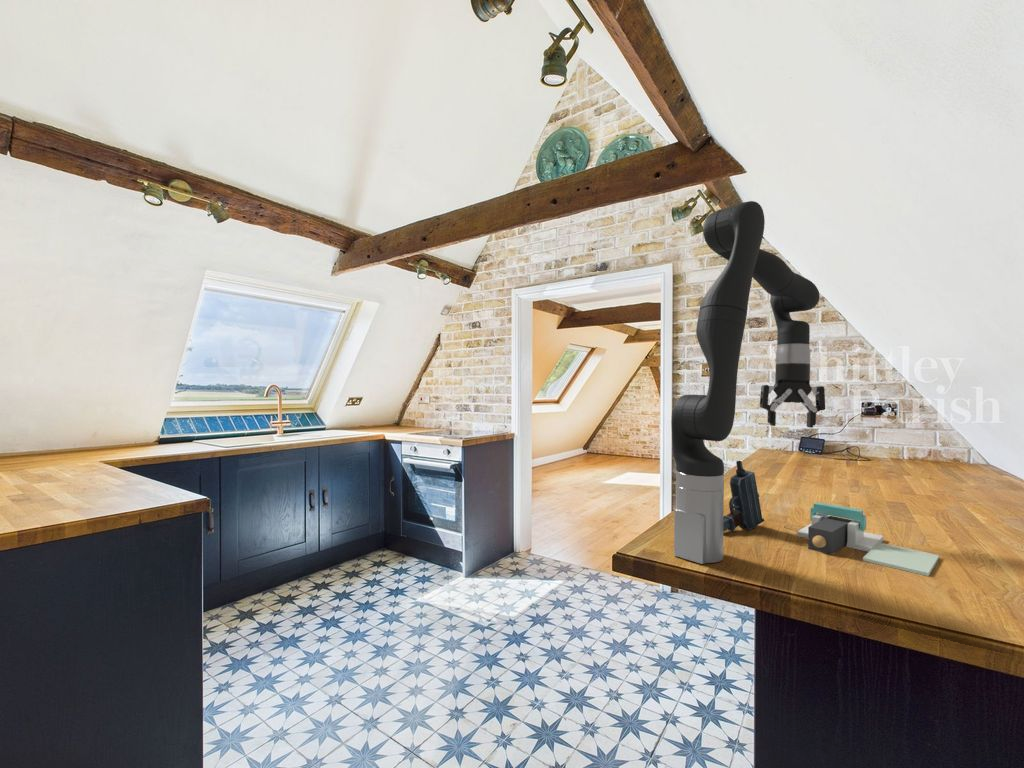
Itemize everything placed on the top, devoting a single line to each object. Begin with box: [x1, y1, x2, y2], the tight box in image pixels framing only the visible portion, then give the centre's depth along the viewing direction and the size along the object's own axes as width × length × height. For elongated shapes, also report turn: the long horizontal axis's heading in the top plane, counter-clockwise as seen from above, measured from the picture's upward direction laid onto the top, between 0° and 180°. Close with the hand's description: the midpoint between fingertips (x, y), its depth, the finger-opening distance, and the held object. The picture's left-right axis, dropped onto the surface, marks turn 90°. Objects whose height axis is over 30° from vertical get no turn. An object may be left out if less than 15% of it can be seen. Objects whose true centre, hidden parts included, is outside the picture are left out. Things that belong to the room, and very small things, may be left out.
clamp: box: [796, 513, 884, 553], centre depth 108 cm, size 12×14×5 cm
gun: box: [723, 460, 765, 533], centre depth 113 cm, size 3×17×15 cm
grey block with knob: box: [807, 515, 852, 556], centre depth 103 cm, size 16×4×5 cm, turn 129°
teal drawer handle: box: [810, 501, 867, 532], centre depth 107 cm, size 2×10×4 cm, turn 41°
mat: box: [862, 542, 940, 577], centre depth 95 cm, size 14×10×1 cm
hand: (791, 426), depth 118 cm, fingers open, 8 cm apart
